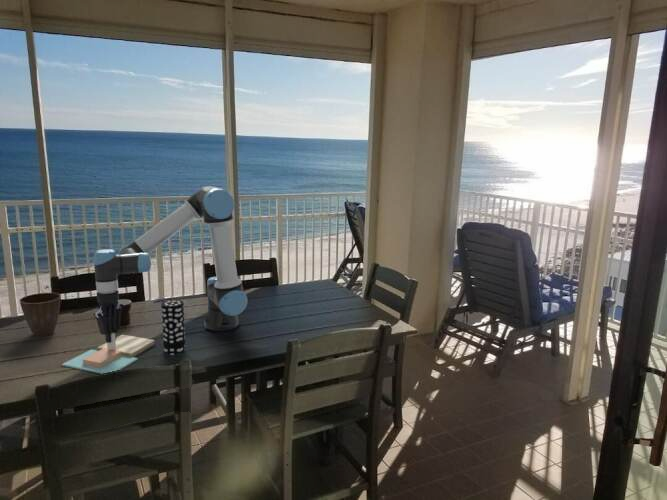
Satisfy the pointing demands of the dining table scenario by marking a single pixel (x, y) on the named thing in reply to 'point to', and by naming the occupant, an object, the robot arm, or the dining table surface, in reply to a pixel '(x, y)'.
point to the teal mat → (109, 367)
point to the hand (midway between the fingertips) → (111, 349)
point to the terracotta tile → (102, 357)
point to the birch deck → (130, 345)
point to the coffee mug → (125, 312)
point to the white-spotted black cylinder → (173, 327)
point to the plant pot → (41, 312)
